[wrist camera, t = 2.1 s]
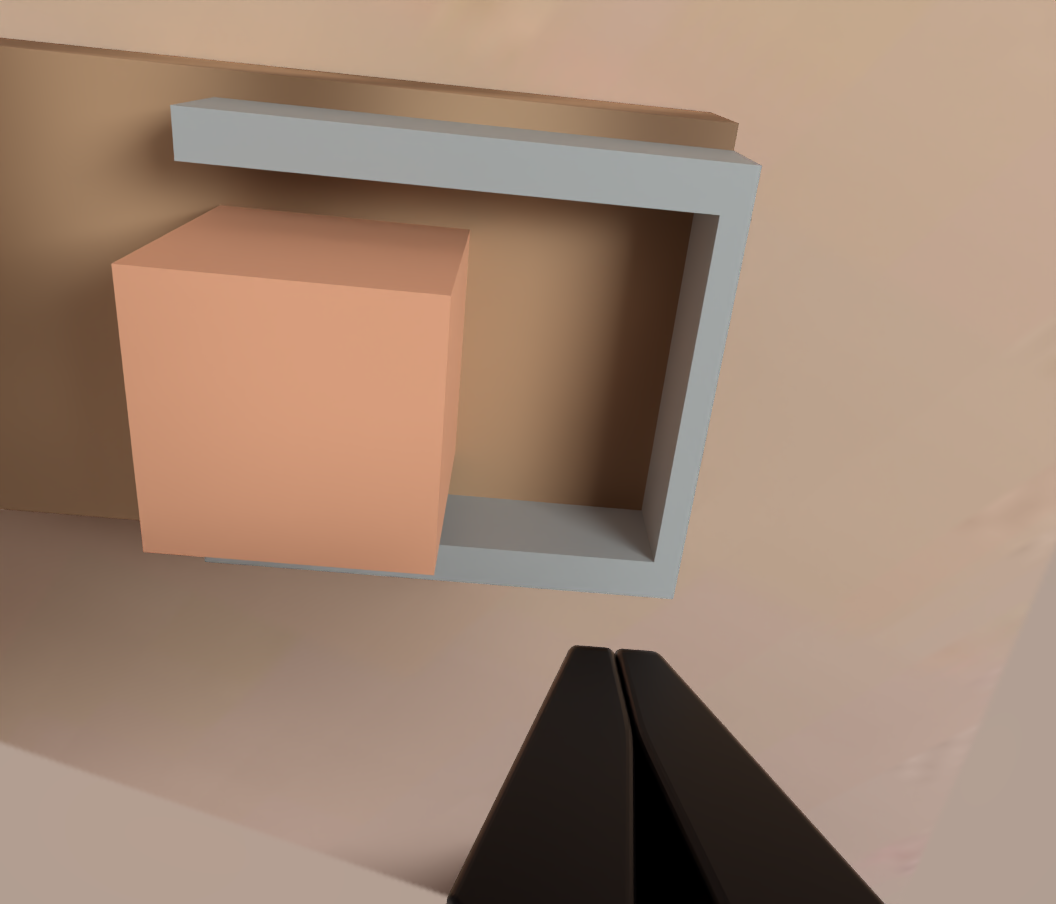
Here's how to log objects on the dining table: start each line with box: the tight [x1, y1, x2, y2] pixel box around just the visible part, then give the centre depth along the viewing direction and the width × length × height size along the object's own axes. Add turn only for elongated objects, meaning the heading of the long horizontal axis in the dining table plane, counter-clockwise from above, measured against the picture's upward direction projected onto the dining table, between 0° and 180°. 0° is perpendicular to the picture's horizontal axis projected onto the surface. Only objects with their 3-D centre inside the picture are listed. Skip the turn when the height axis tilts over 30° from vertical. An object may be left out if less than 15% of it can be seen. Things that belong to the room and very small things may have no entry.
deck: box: [0, 38, 739, 520], centre depth 18 cm, size 20×9×2 cm, turn 84°
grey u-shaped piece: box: [170, 97, 762, 599], centre depth 16 cm, size 9×8×2 cm
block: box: [111, 205, 470, 575], centre depth 15 cm, size 4×4×4 cm
